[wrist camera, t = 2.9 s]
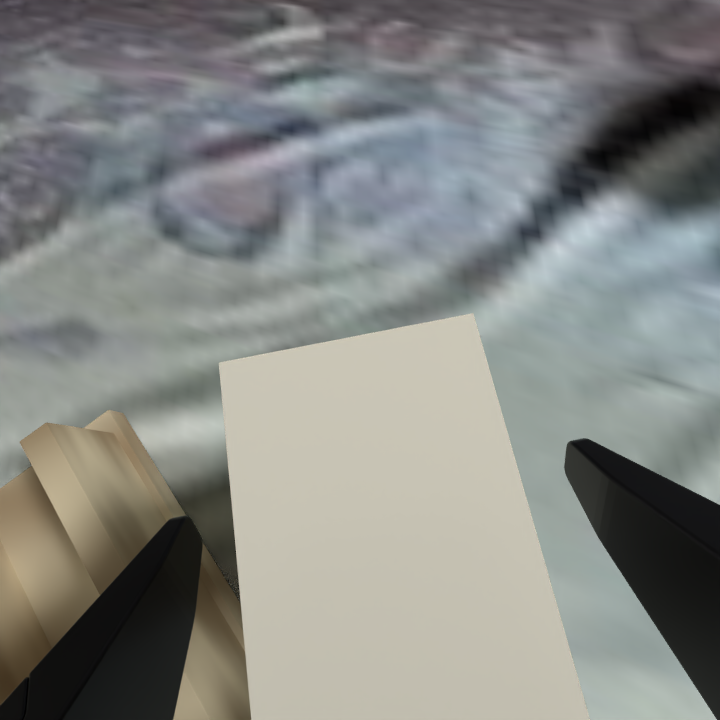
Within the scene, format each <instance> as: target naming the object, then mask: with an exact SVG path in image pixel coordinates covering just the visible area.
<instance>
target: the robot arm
mask: <svg viewBox="0 0 720 720" xmlns="http://www.w3.org/2000/svg"><path fill="white" fill-rule="evenodd" d="M564 468H565V473H566V476H567V478H568V480H569V482H570V484H571V486H572V488H573V490H574V492H575V494H576V496H577V498H578V500H579V501H580V503H581V505H582V507H583V509H584V511H585V513H586V515H587V517H588V519H589V521H590V523H591V525H592V527H593V529H594V530H595V532H596V534H597V536H598V538H599V539H600V541H601V542H602V544H603V546H604V547H605V549H606V550H607V552H608V553H609V555H610V556H611V558H612V559H613V561H614V563H615V564H616V566H617V567H618V569H619V570H620V572H621V573H622V575H623V576H624V578H625V579H626V581H627V582H628V584H629V586H630V587H631V589H632V590H633V592H634V593H635V595H636V596H637V598H638V599H639V601H640V602H641V604H642V605H643V607H644V609H645V610H646V612H647V613H648V615H649V616H650V618H651V619H652V621H653V622H654V624H655V625H656V627H657V628H658V630H659V631H660V633H661V635H662V636H663V638H664V639H665V641H666V642H667V644H668V645H669V647H670V648H671V650H672V651H673V653H674V654H675V656H676V658H677V659H678V661H679V662H680V664H681V665H682V667H683V668H684V670H685V671H686V673H687V674H688V676H689V677H690V679H691V680H692V682H693V684H694V685H695V687H696V688H697V690H698V691H699V693H700V694H701V696H702V697H703V699H704V700H705V702H706V703H707V705H708V707H709V708H710V710H711V711H712V713H713V714H714V716H715V717H716V719H717V720H720V505H719V504H717V503H715V502H713V501H711V500H709V499H707V498H705V497H703V496H701V495H699V494H697V493H695V492H693V491H691V490H689V489H687V488H685V487H683V486H681V485H679V484H677V483H675V482H673V481H671V480H669V479H667V478H665V477H663V476H661V475H659V474H657V473H655V472H653V471H651V470H649V469H647V468H645V467H643V466H641V465H639V464H637V463H635V462H633V461H631V460H629V459H627V458H625V457H623V456H621V455H619V454H617V453H615V452H613V451H611V450H609V449H607V448H605V447H603V446H601V445H599V444H597V443H595V442H593V441H591V440H589V439H586V438H583V439H578V440H573V441H570V442H568V444H567V447H566V456H565V465H564ZM202 549H203V543H202V538H201V536H200V534H199V532H198V530H197V528H196V527H195V525H194V523H193V521H192V519H191V518H190V517H189V516H186V515H185V516H180V517H174V518H171V519H169V520H168V521H167V522H166V523H165V524H164V525H163V526H162V527H161V529H160V530H159V531H158V532H157V533H156V534H155V535H154V536H153V537H152V538H151V540H150V541H149V542H148V543H147V544H146V545H145V546H144V547H143V548H142V550H141V551H140V552H139V553H138V554H137V555H136V556H135V557H134V558H133V559H132V561H131V562H130V563H129V564H128V565H127V566H126V567H125V568H124V569H123V570H122V572H121V573H120V574H119V575H118V576H117V577H116V578H115V579H114V580H113V582H112V583H111V584H110V585H109V586H108V587H107V588H106V589H105V590H104V591H103V593H102V594H101V595H100V596H99V597H98V598H97V599H96V600H95V601H94V603H93V604H92V605H91V606H90V607H89V608H88V609H87V610H86V611H85V612H84V614H83V615H82V616H81V617H80V618H79V619H78V620H77V621H76V622H75V623H74V625H73V626H72V627H71V628H70V629H69V630H68V631H67V632H66V633H65V635H64V636H63V637H62V638H61V639H60V640H59V641H58V642H57V643H56V644H55V646H54V647H53V648H52V649H51V650H50V651H49V652H48V653H47V654H46V655H45V657H44V658H43V659H42V660H41V661H40V662H39V663H38V664H37V665H36V667H35V668H34V669H33V670H32V671H31V672H30V674H29V677H26V678H24V680H23V681H22V682H21V683H20V684H19V685H18V686H17V687H16V688H15V690H14V691H13V692H12V693H11V694H10V695H9V696H8V697H7V698H6V699H5V700H4V702H3V703H2V704H1V705H0V720H173V719H174V714H175V709H176V704H177V700H178V695H179V690H180V685H181V681H182V676H183V671H184V667H185V662H186V657H187V652H188V648H189V643H190V638H191V633H192V629H193V624H194V618H195V612H196V605H197V596H198V586H199V577H200V568H201V558H202Z"/></svg>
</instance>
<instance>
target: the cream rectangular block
mask: <svg viewBox="0 0 720 720" xmlns="http://www.w3.org/2000/svg"><path fill="white" fill-rule="evenodd" d="M219 370H220V381H221V392H222V403H223V414H224V425H225V436H226V447H227V458H228V469H229V480H230V491H231V502H232V513H233V524H234V535H235V546H236V557H237V568H238V579H239V590H240V601H241V612H242V623H243V634H244V645H245V655H246V666H247V677H248V688H249V699H250V710H251V720H590V718H589V714H588V711H587V707H586V704H585V700H584V697H583V693H582V690H581V686H580V683H579V679H578V676H577V672H576V669H575V665H574V662H573V659H572V655H571V652H570V648H569V645H568V641H567V638H566V634H565V631H564V627H563V624H562V620H561V617H560V613H559V610H558V606H557V603H556V599H555V596H554V592H553V589H552V585H551V582H550V579H549V575H548V572H547V568H546V565H545V561H544V558H543V554H542V551H541V547H540V544H539V540H538V537H537V533H536V530H535V526H534V523H533V519H532V516H531V512H530V509H529V505H528V502H527V499H526V495H525V492H524V488H523V485H522V481H521V478H520V474H519V471H518V467H517V464H516V460H515V457H514V453H513V450H512V446H511V443H510V439H509V436H508V432H507V429H506V425H505V422H504V419H503V415H502V412H501V408H500V405H499V401H498V398H497V394H496V391H495V387H494V384H493V380H492V377H491V373H490V370H489V366H488V363H487V359H486V356H485V352H484V349H483V345H482V342H481V338H480V335H479V332H478V328H477V325H476V321H475V318H474V314H473V313H472V314H467V315H462V316H457V317H452V318H447V319H441V320H436V321H431V322H426V323H421V324H416V325H411V326H405V327H400V328H395V329H390V330H385V331H380V332H374V333H369V334H364V335H359V336H354V337H349V338H344V339H338V340H333V341H328V342H323V343H318V344H313V345H308V346H302V347H297V348H292V349H287V350H282V351H277V352H271V353H266V354H261V355H256V356H251V357H246V358H241V359H235V360H230V361H225V362H220V363H219Z"/></svg>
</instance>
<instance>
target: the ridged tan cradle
mask: <svg viewBox="0 0 720 720" xmlns="http://www.w3.org/2000/svg"><path fill="white" fill-rule="evenodd" d="M20 444H21V446H22V448H23V449H24V451H25V453H26V455H27V457H28V459H29V461H30V463H31V465H32V466H31V467H29V468H28V469H27V470H25V471H24V472H23V473H21V474H20V475H18V476H17V477H16V478H14V479H13V480H12V481H10V482H9V483H7V484H6V485H5V486H3V487H2V488H1V489H0V705H1V704H2V703H3V702H4V700H5V699H6V698H7V697H8V696H9V695H10V694H11V693H12V692H13V691H14V690H15V688H16V687H17V686H18V685H19V684H20V683H21V682H22V681H23V680H24V678H26V677H29V674H30V672H31V671H32V670H33V669H34V668H35V667H36V665H37V664H38V663H39V662H40V661H41V660H42V659H43V658H44V657H45V655H46V654H47V653H48V652H49V651H50V650H51V649H52V648H53V647H54V646H55V644H56V643H57V642H58V641H59V640H60V639H61V638H62V637H63V636H64V635H65V633H66V632H67V631H68V630H69V629H70V628H71V627H72V626H73V625H74V623H75V622H76V621H77V620H78V619H79V618H80V617H81V616H82V615H83V614H84V612H85V611H86V610H87V609H88V608H89V607H90V606H91V605H92V604H93V603H94V601H95V600H96V599H97V598H98V597H99V596H100V595H101V594H102V593H103V591H104V590H105V589H106V588H107V587H108V586H109V585H110V584H111V583H112V582H113V580H114V579H115V578H116V577H117V576H118V575H119V574H120V573H121V572H122V570H123V569H124V568H125V567H126V566H127V565H128V564H129V563H130V562H131V561H132V559H133V558H134V557H135V556H136V555H137V554H138V553H139V552H140V551H141V550H142V548H143V547H144V546H145V545H146V544H147V543H148V542H149V541H150V540H151V538H152V537H153V536H154V535H155V534H156V533H157V532H158V531H159V530H160V529H161V527H162V526H163V525H164V524H165V523H166V522H167V521H168V520H169V519H171V518H174V517H180V516H185V515H186V514H185V513H184V511H183V509H182V508H181V506H180V505H179V503H178V501H177V500H176V498H175V497H174V495H173V493H172V492H171V490H170V488H169V487H168V485H167V484H166V482H165V480H164V479H163V477H162V475H161V474H160V472H159V471H158V469H157V467H156V466H155V464H154V462H153V461H152V459H151V458H150V456H149V454H148V453H147V451H146V450H145V448H144V446H143V445H142V443H141V441H140V440H139V438H138V437H137V435H136V433H135V432H134V430H133V428H132V427H131V425H130V424H129V422H128V420H127V419H126V417H125V416H124V414H123V413H119V412H115V411H111V410H108V411H106V412H105V413H104V414H102V415H101V416H100V417H98V418H97V419H95V420H94V421H93V422H91V423H90V424H89V425H87V426H86V427H84V428H78V427H72V426H65V425H59V424H52V423H45V424H44V425H42V426H41V427H39V428H38V429H37V430H35V431H34V432H32V433H31V434H30V435H28V436H27V437H25V438H24V439H23V440H21V441H20ZM202 543H203V542H202ZM173 720H251V710H250V699H249V688H248V677H247V666H246V655H245V645H244V634H243V623H242V612H241V603H240V602H239V600H238V599H237V597H236V595H235V594H234V592H233V590H232V589H231V587H230V586H229V584H228V582H227V581H226V579H225V578H224V576H223V574H222V573H221V571H220V569H219V568H218V566H217V565H216V563H215V561H214V560H213V558H212V556H211V555H210V553H209V552H208V550H207V548H206V547H205V545H204V544H203V549H202V558H201V568H200V577H199V586H198V596H197V605H196V612H195V618H194V624H193V629H192V633H191V638H190V643H189V648H188V652H187V657H186V662H185V667H184V671H183V676H182V681H181V685H180V690H179V695H178V700H177V704H176V709H175V714H174V719H173Z"/></svg>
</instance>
